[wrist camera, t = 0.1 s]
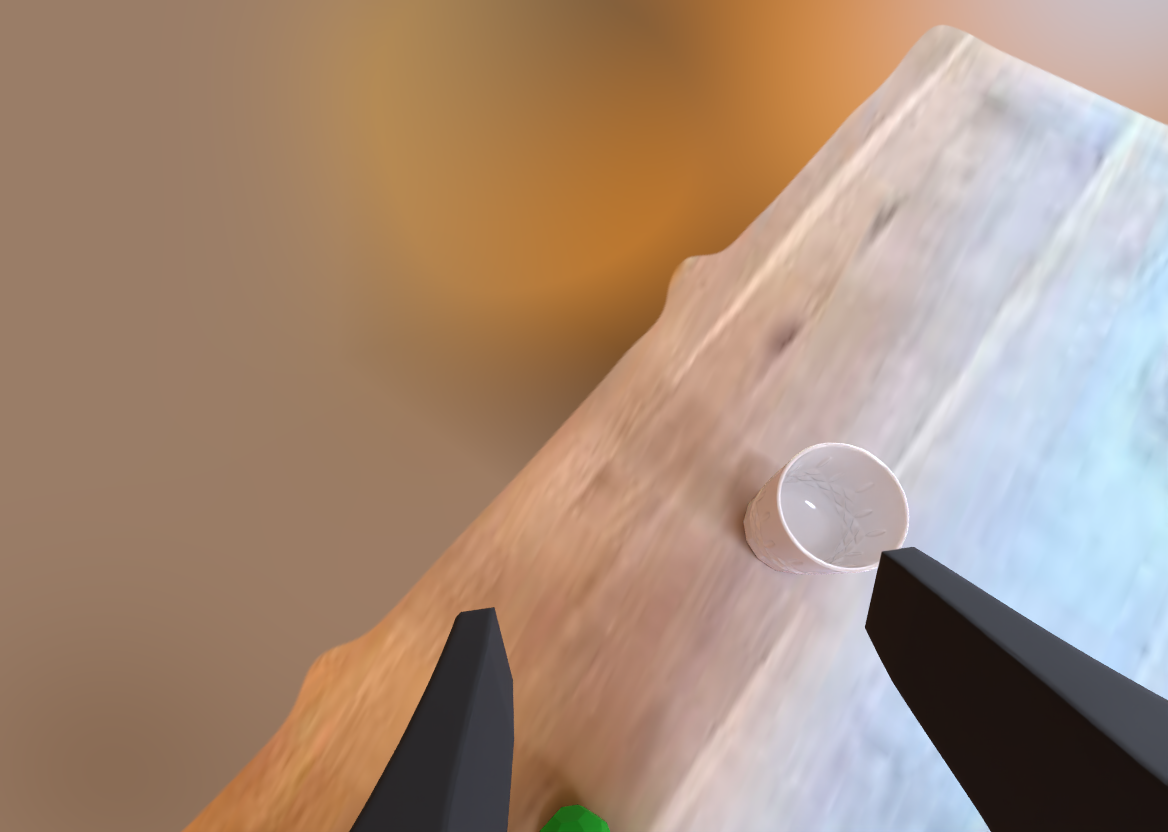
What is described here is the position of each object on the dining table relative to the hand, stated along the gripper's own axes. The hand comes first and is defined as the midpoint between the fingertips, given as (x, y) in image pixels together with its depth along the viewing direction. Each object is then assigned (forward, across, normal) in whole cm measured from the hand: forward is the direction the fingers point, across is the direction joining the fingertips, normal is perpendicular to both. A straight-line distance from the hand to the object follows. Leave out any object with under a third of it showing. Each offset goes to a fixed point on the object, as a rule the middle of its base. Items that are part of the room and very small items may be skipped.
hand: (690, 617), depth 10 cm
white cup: (+24, -14, +21) cm, 35 cm away
